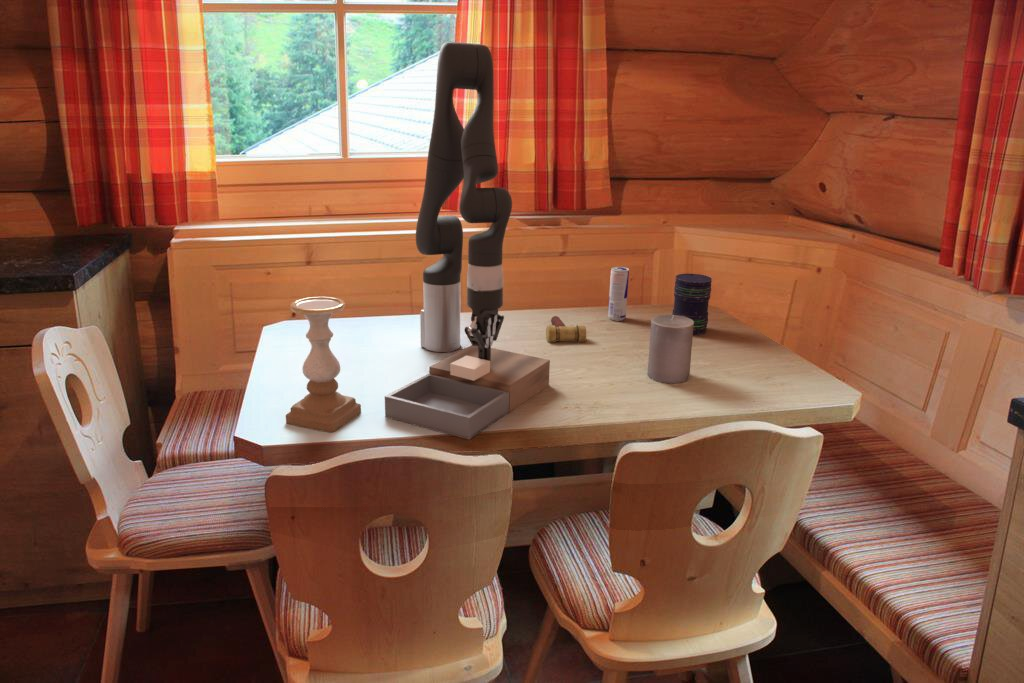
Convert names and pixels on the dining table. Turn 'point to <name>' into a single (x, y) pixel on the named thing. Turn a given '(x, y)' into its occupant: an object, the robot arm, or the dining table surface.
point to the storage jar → (693, 299)
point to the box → (447, 405)
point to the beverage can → (618, 293)
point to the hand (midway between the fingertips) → (484, 362)
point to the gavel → (564, 332)
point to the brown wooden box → (503, 373)
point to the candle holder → (321, 371)
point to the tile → (470, 368)
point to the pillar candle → (670, 348)
